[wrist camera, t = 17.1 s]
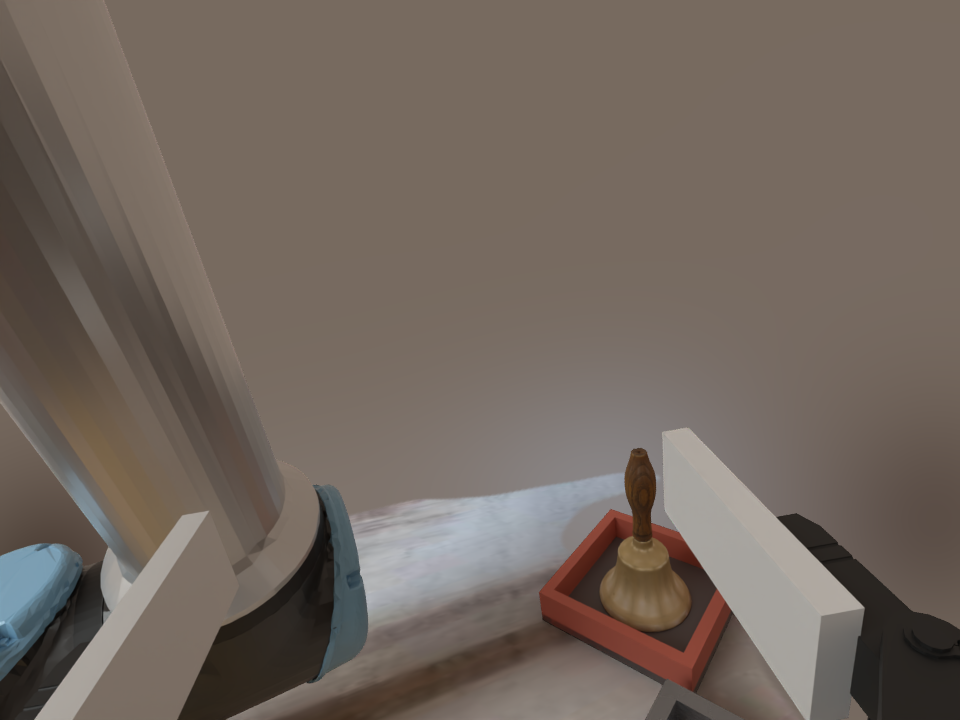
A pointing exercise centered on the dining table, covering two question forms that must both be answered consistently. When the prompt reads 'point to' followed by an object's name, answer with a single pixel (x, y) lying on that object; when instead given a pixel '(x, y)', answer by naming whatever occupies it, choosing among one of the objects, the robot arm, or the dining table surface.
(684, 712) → the grey square open box
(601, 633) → the tray
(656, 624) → the hand bell
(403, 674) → the dining table surface
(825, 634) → the robot arm
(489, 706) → the dining table surface
